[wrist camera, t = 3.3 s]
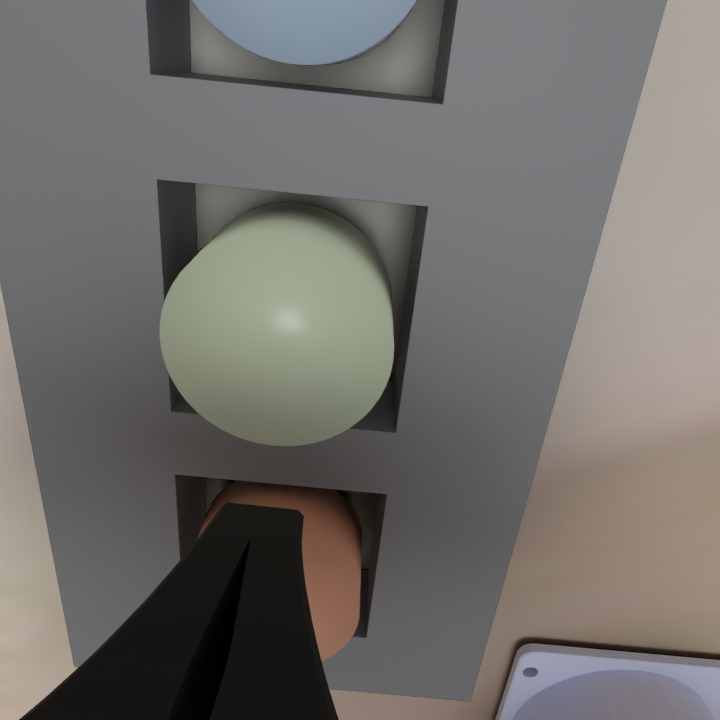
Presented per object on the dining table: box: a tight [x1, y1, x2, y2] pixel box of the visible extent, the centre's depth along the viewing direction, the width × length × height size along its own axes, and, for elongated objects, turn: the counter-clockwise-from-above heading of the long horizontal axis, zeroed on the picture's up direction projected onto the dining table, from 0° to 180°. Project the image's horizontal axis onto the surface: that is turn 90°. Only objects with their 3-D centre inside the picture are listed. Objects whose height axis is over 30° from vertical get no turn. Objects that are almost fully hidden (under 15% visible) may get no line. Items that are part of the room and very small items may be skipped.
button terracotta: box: [197, 480, 362, 661], centre depth 15 cm, size 4×4×2 cm
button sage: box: [160, 203, 394, 446], centre depth 12 cm, size 4×4×2 cm
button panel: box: [0, 0, 667, 701], centre depth 13 cm, size 24×12×2 cm, turn 175°
